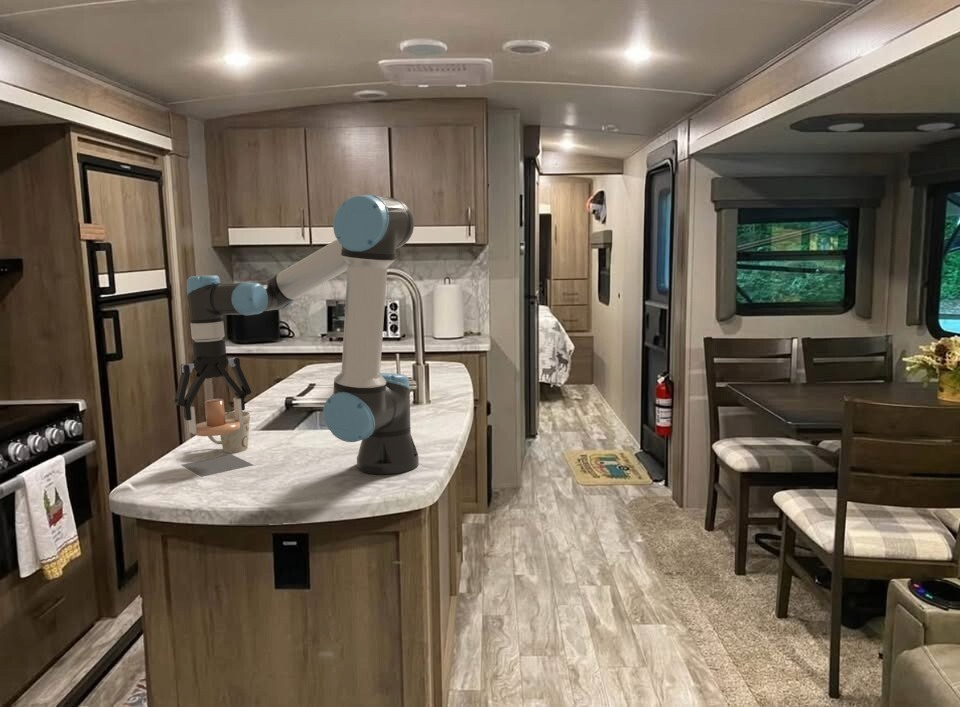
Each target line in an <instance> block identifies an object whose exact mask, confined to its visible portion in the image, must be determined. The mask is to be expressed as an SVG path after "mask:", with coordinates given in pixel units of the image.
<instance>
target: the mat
mask: <svg viewBox="0 0 960 707" xmlns="http://www.w3.org/2000/svg"><path fill="white" fill-rule="evenodd" d="M181 466H182V467H184V468H185V469H187V470H189V471H191V472H192V473H195V474H196V475H198V476H200V477H201V478H202V477H207V476H211V475H216V474H219V473H225V472H229V471H234V470H238V469H243V468H248V467H252V466H254V464H252V463H251V462H249V461H247V460H244V459H242V458H240V457H238V456H236V455H234V454H233V453H230V454H227V455H222V456H217V457H211V458H207V459H202V460H197V461H192V462H188V463H183V464H181Z"/></svg>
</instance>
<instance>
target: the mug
mask: <svg viewBox="0 0 960 707" xmlns="http://www.w3.org/2000/svg"><path fill="white" fill-rule="evenodd" d="M250 417H251V414H250V412H248V411H245V410H242V418H243V424H242V425H240V429H239V430H238V431H236V432H233V433H229V434H224V435H219V436H220V440H217V439H216V438H214V436H207V438H208V439H209V440H210V441H211V442H212V443H214V444H216V445H221V446H222V450H223V452H224V453H229V454H234V453H235V454H236V453H237V454H238V453H241V452H245V451H247V450H248V447H249V446H248V445H249V434H250V433H249V432H250V421H251V420H250ZM225 419H231V420H235V411H234V410H233V411H225Z"/></svg>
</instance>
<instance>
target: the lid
mask: <svg viewBox="0 0 960 707" xmlns="http://www.w3.org/2000/svg"><path fill="white" fill-rule="evenodd" d="M224 401H225V400H224V399H223V398H212V399H208V400H206V399H205V401H204V408H205V410H204V411H205V420H206V421H202V422H199V423H196V430H197V433H196V434H193V436H197V437H208V436H213V437H214V436H220V435H224V434H229V433H233V432H236V431H238V430H239V429H240V421H237V420H231V419H225V412H226V410H225V402H224Z"/></svg>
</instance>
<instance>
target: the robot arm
mask: <svg viewBox="0 0 960 707" xmlns="http://www.w3.org/2000/svg"><path fill="white" fill-rule="evenodd" d="M414 220H415V219H414V216H413V213H412V211H411V209H410V208H409V207H408V205H406V204H405V202H403V200H402V201H401V200H400V199H397V198H395V197H391V196H390V197H389V196H388V197H387V196H385V197H384V196H378V195H373V194H361V195H360V194H359V195H353V196H351V197H348V198H346V199H345V201H344V202H342V203H341V204H340V205H339V206H338V208H337V210H336V212H335V214H334V217H333V223H332V226H333V228H332V229H333V234H334V236H335V238H336V239H335V240H333V241H332V242H330V243H328V244H327V245H325V246H323V247H321V248H319V249H318V250H316V251H313V252H312V253H311V254H309V255H308V256H306V257H304V258H302V259H301V260H298V261H297V262H295V263H294V264H291V266H289V267H287V268H285V269H283V270H282V271H279V272H278V273H276V274H274V275H272V276H271V277H270V278H268V279H266V280H255V281H245V282H243V281H242V282H230V283H229V282H228V283H221V281H220V279H221V278H220V277H219V276H218V275H216V274H214V275H213V274H211V275H193V276H189V277H188V278H187V280H186V297H187V302H188V303H187V304H188V310H189V311H188V312H189V320H190V321H189V322H190V324H189V325H190V332H191V339H192V340H193V341H192V343H191V344H192V345H191V346H192V354H193V361H192V363H186V364H185V363H181V365H180V377H179V380H178V384H177V385H178V386H177V390H176V394H175V397H174V402H173V403H174V405H175V406H179V407H182V410H183V419H184V420H185V421H188V430H189V433H190V434H192V435H194V434H196V433H197V430H196V424H197V423H196V420H197V419H196V410H195V406H193V405H192V403H193V402H194V400H195V398H196V396H197V394H198V393H199V391H200V388H201V387H202V384H203V383H204V382H205V381H206V379H212V378H221V379H222V380H223V381H224V383H225V384H226V385H227V386H228V388H229V390H231V391H232V392H233V394H234V395H235V397H233V407H234V408H233V411H235V420H237V421H240V425H242V424H243V418H242V411H245V409H246V407H245V406H246V404H245V399H246V397H247V396H248V395H251V394H252V390H251V388H250V385H249V383H248V381H247V379H246V376H245V374H244V372H243V369H242V368H241V362H240V361H241V359H240V358H239V357H231V358H228V357H227V350H226V349H227V348H226V347H227V346H226V340H225V339H223V338H224V337H225V327H224V326H225V325H224V316H226V315H227V316H228V315H229V316H230V315H231V316H233V315H234V316H241V315H243V316H248V317H249V316H254V315H259V314H262V313H264V312H269V311H280V310H282V309H286V308H288V307H290V306H291V305H292V304H293V302H294V301H295V300H296V299H297V298H300V297H301V296H303V295H305V294H307V293H308V292H310V291H312V290H314V289H315V288H317V287H320V286H321V285H323V284H325V283H327V282H328V281H331V280H332V279H334V278H336V277H338V276H340V275H342V274H343V273H345V272H347V273H346V274H347V275H346V290H345V293H346V294H345V303H344V304H345V306H344V309H345V310H344V325H343V342H342V358H341V359H342V361H341V371H340V372H339V374H337V375H336V376H335V377H334V379H333V392H332V393H333V394H331V395H330V396H329V397H328V398H327V400H326V401H325V403H324V405H323V409H322V410H323V411H322V415H323V421H324V423H325V425H326V428H327V429H328V430H329V431H330V432H331V433H332V435H333V436H334V437H335V438H337V439H339V440H340V441H343V442H346V443H355V442H360V441H361V442H360V446H359V450H358V453H357V456H356V468H357V469H358V470H359V471H360V472H363V473H367V474H373V475H392V474H393V475H394V474H400V473H401V474H402V473H405V472H409V471H412V470H414V469H415V468H417V467H419V463H420V462H419V453H418V450H417V447H416V445H415V442H414V439H413V437H412V432H411V397H410V395H411V387H410V380H409V377H408V376H407V375H406V374H404V373H403V374H402V373H392V372H391V373H389V372H381V365H382V363H381V362H382V348H383V336H384V335H383V334H384V323H385V322H384V319H385V309H386V308H385V307H386V295H387V294H386V292H387V291H386V290H387V278H388V268H389V266H391V265H392V264H393V263H394V262H395V261H396V250H397V249H399V248H401V247H403V246H404V245H405V244H406V243H407V242H408V241H409V240H410V239H411V238H412V236H413V232H414V228H415V221H414ZM228 365H229V366H230V367H231V369H232V371H233V373H234V375H235V378H236V381H237V383H238V384H239V385H238V384H237V383H236V382H235V380H233V379H232V377H231V376H230V374H229V373H228V371H227V370H226V368H227V367H228ZM193 369H194V370H195V371H196V373H195V376H194V378H193V381H192V382H191V385H190V386H189V389H188V384H189V381H190V377H191V374H192V373H193ZM187 390H188V391H187Z"/></svg>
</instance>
